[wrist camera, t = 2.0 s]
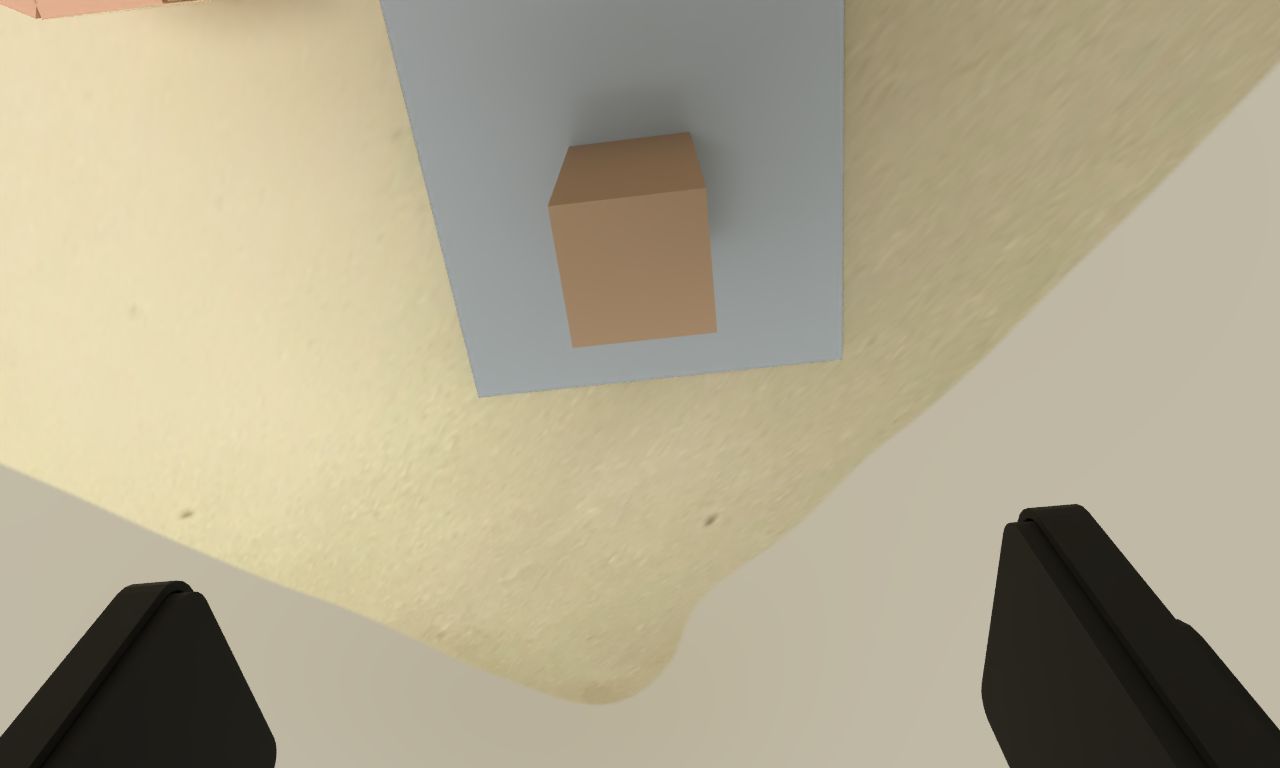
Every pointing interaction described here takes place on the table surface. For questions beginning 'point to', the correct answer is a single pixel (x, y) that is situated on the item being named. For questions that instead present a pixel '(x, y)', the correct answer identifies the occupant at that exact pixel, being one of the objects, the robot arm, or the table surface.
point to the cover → (631, 182)
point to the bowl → (84, 6)
